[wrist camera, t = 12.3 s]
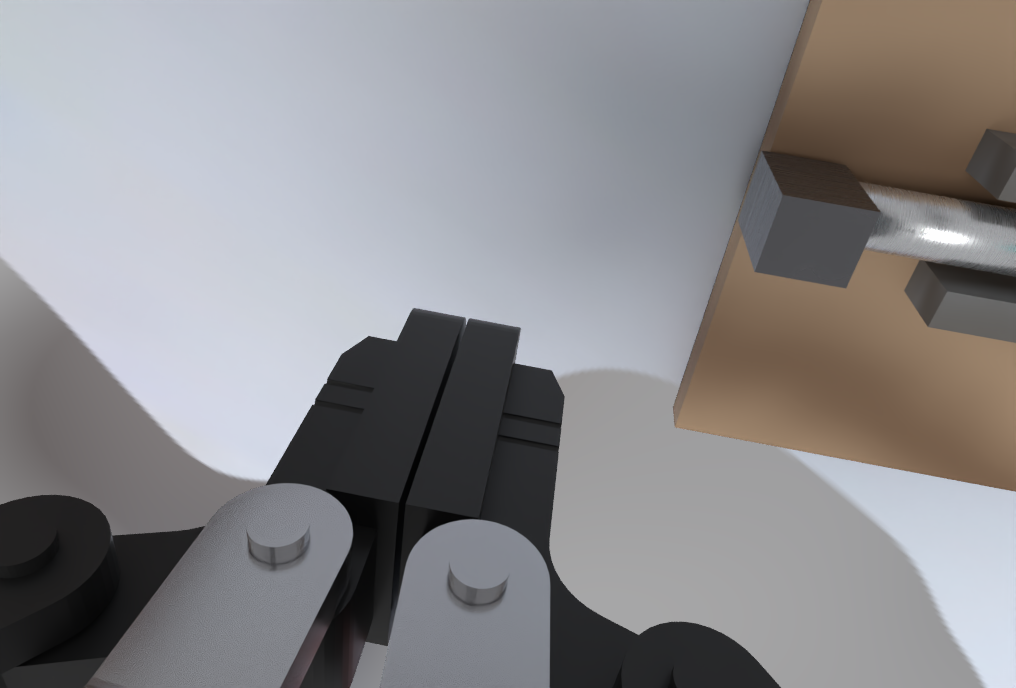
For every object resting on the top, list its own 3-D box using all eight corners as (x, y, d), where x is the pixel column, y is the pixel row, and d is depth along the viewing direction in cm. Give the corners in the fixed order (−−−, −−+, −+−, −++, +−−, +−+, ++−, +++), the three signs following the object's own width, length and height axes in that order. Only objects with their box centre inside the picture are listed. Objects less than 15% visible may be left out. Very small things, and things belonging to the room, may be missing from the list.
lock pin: (760, 149, 17) (782, 195, 15) (1138, 215, 17) (1221, 272, 15) (737, 219, 18) (754, 271, 16) (1093, 282, 18) (1164, 345, 16)
